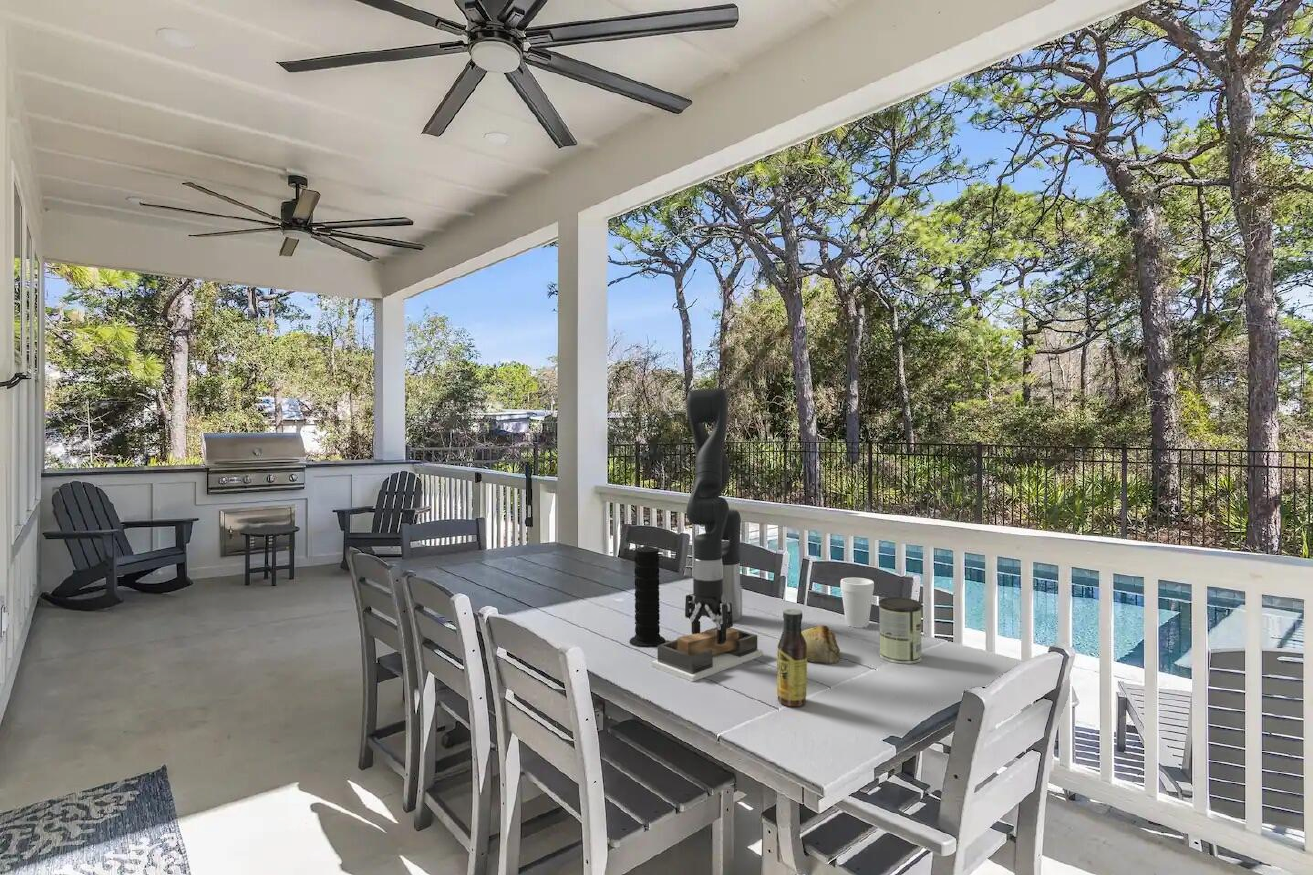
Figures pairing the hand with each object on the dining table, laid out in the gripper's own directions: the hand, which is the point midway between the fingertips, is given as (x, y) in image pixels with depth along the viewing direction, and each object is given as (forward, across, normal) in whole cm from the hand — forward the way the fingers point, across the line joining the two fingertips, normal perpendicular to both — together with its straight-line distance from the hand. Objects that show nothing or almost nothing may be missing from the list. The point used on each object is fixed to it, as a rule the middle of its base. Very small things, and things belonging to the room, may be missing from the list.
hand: (708, 639), depth 173 cm
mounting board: (+5, 0, 0) cm, 5 cm away
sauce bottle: (+6, -30, +6) cm, 31 cm away
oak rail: (+3, 0, 0) cm, 3 cm away
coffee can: (+6, -32, -37) cm, 49 cm away
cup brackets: (+4, 0, 0) cm, 4 cm away
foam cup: (+6, -10, -54) cm, 55 cm away
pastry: (+6, -16, -23) cm, 28 cm away
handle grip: (+6, +22, +1) cm, 23 cm away
